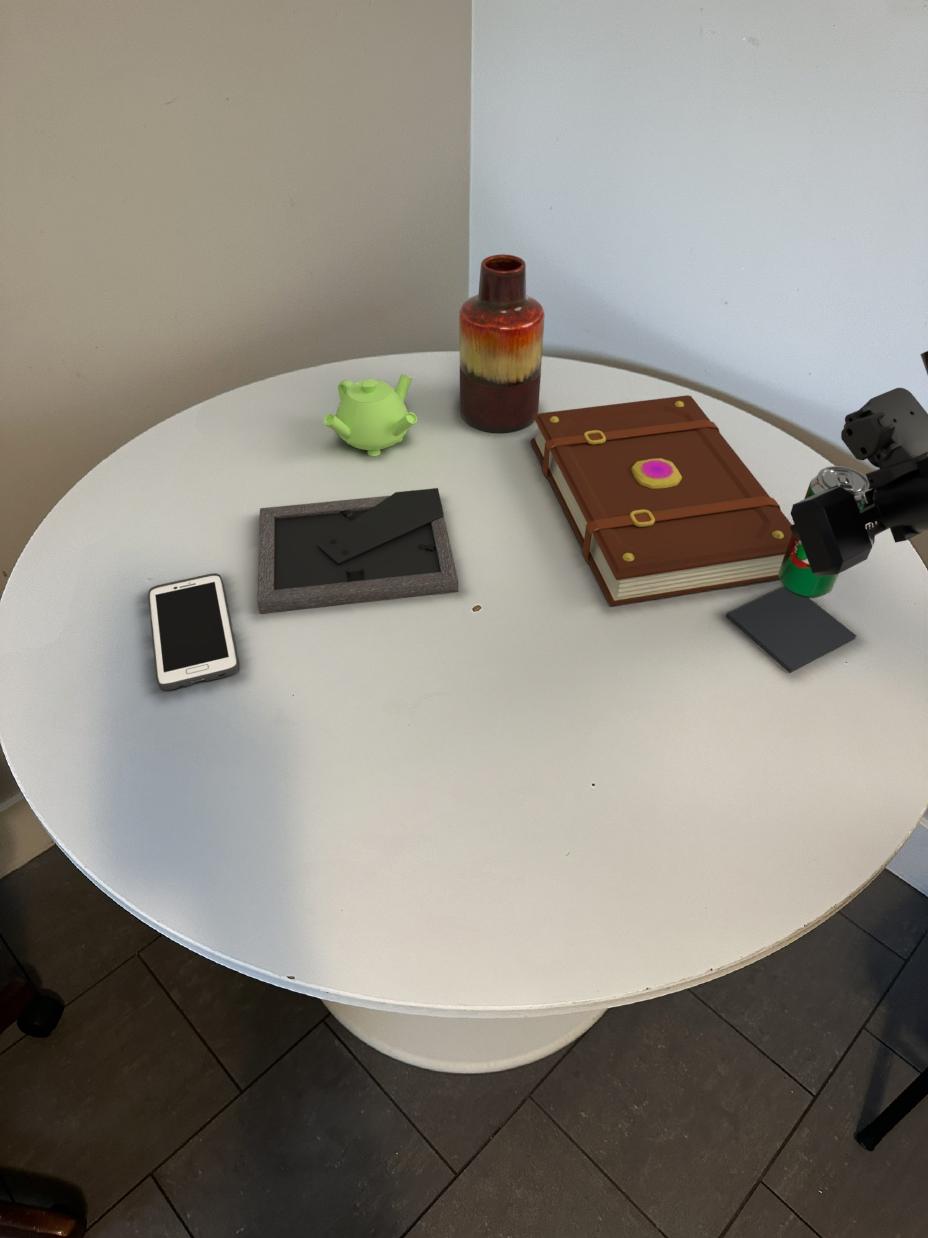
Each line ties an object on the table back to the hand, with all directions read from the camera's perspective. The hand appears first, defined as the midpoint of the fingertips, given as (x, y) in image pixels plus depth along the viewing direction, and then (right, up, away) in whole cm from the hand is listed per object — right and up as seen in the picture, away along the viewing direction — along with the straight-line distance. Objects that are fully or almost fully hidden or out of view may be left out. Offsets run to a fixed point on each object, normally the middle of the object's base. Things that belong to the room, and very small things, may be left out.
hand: (813, 521), depth 75 cm
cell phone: (-60, -10, +9) cm, 61 cm away
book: (-9, +5, +24) cm, 26 cm away
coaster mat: (+1, -10, +9) cm, 13 cm away
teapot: (-43, +14, +33) cm, 56 cm away
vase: (-27, +20, +38) cm, 51 cm away
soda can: (+1, -6, +4) cm, 7 cm away
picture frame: (-44, -2, +18) cm, 48 cm away
